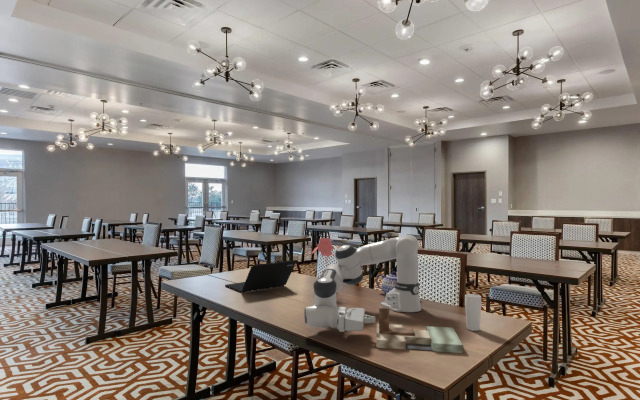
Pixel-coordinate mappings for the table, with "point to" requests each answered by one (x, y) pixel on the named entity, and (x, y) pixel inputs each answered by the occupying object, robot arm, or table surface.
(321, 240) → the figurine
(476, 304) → the drinking glass
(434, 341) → the board
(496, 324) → the table surface
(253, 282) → the laptop
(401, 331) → the push block
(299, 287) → the table surface
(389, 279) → the teapot
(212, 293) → the table surface
